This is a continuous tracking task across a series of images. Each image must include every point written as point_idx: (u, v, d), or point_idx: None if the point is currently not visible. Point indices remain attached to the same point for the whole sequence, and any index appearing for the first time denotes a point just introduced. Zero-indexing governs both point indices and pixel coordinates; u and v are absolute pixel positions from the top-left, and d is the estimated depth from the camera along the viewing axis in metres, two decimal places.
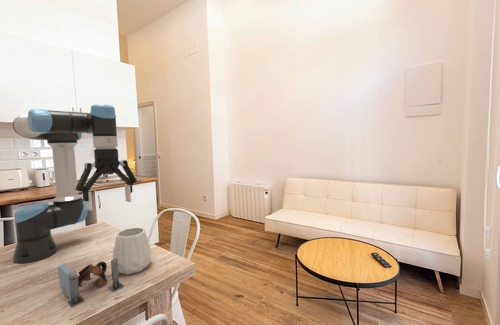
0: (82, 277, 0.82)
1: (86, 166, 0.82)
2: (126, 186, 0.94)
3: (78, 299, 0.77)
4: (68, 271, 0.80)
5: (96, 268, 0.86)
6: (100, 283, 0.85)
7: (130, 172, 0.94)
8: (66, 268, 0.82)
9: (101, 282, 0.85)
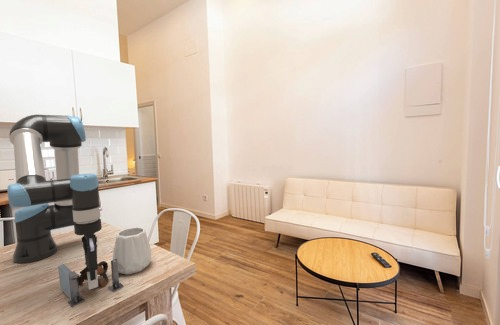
0: (84, 277, 0.82)
1: (94, 249, 0.77)
2: None
3: (78, 299, 0.77)
4: (68, 271, 0.80)
5: (98, 268, 0.86)
6: (102, 282, 0.85)
7: None
8: (66, 268, 0.82)
9: (103, 281, 0.85)
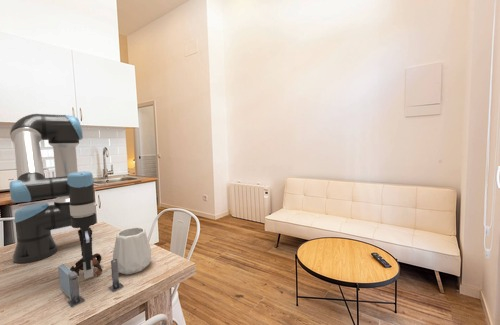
0: (80, 267, 0.89)
1: (89, 241, 0.83)
2: None
3: (78, 299, 0.77)
4: (68, 271, 0.80)
5: None
6: (96, 272, 0.92)
7: None
8: (66, 268, 0.82)
9: (97, 271, 0.92)
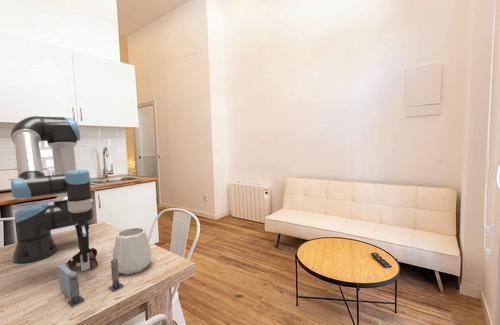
0: (77, 260, 0.94)
1: (86, 235, 0.89)
2: None
3: (78, 299, 0.77)
4: (68, 271, 0.80)
5: None
6: (93, 265, 0.97)
7: None
8: (66, 268, 0.82)
9: (94, 264, 0.97)
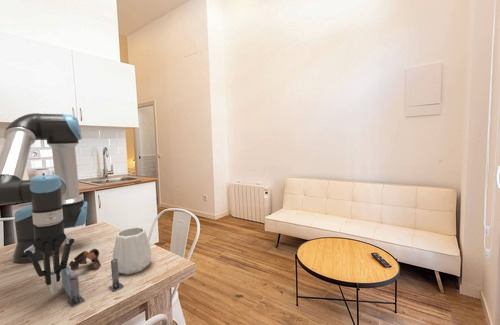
0: (79, 261, 0.93)
1: (26, 254, 0.73)
2: None
3: (78, 299, 0.77)
4: (69, 271, 0.80)
5: (91, 253, 0.98)
6: (95, 266, 0.96)
7: (67, 254, 0.81)
8: (67, 268, 0.82)
9: (96, 265, 0.97)
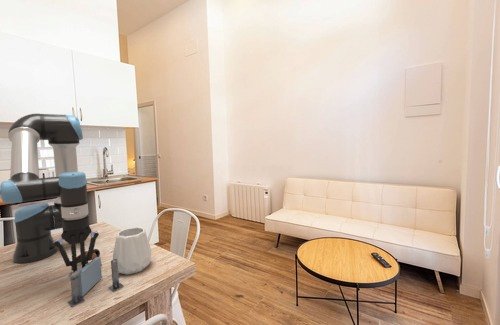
0: (80, 261, 0.93)
1: None
2: None
3: (78, 299, 0.77)
4: (85, 267, 0.82)
5: None
6: None
7: (92, 247, 0.85)
8: (91, 263, 0.85)
9: None
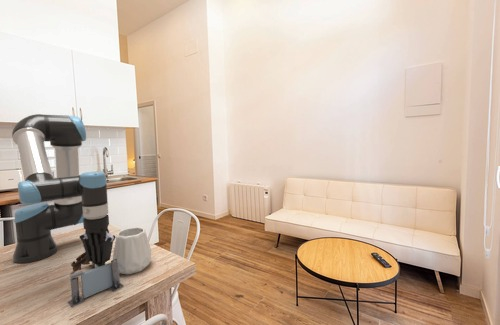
0: (81, 261, 0.93)
1: None
2: None
3: (78, 299, 0.77)
4: (93, 269, 0.81)
5: None
6: None
7: (105, 251, 0.83)
8: (103, 266, 0.83)
9: None
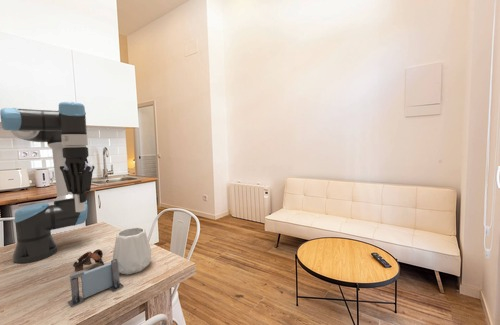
0: (83, 262, 0.93)
1: None
2: None
3: (78, 299, 0.77)
4: (93, 269, 0.81)
5: (95, 254, 0.97)
6: None
7: (84, 180, 0.85)
8: (103, 266, 0.83)
9: None
